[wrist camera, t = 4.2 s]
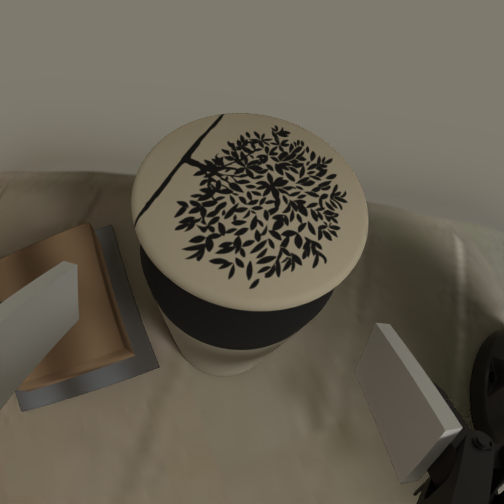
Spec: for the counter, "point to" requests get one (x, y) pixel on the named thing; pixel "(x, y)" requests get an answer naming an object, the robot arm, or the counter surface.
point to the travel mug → (244, 234)
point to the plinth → (83, 317)
